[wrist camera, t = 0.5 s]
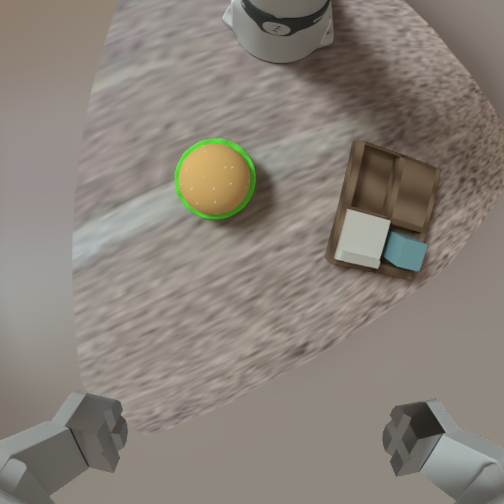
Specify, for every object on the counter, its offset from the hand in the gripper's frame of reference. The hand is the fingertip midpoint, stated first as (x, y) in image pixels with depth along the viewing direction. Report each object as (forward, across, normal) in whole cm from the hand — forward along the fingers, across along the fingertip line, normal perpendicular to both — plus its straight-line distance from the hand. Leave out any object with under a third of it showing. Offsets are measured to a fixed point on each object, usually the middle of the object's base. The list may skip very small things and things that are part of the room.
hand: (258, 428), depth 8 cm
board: (+44, -22, -2) cm, 49 cm away
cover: (+40, -17, +2) cm, 44 cm away
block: (+43, -25, +4) cm, 50 cm away
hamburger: (+44, +6, -6) cm, 45 cm away
